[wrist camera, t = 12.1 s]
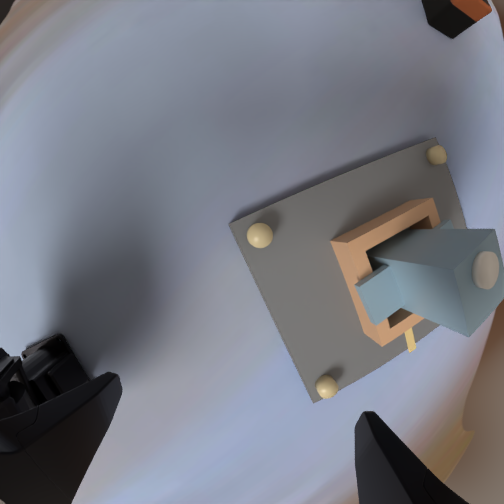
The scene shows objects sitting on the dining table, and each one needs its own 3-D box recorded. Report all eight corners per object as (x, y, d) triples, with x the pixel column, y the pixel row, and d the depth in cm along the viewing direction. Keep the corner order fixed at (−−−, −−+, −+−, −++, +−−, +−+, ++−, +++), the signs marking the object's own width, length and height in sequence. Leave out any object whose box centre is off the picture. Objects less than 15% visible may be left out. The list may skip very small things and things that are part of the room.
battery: (443, 10, 20) (481, -21, 10) (452, 41, 21) (498, 9, 11) (419, -4, 20) (455, -41, 10) (427, 24, 20) (471, -14, 10)
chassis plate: (312, 401, 22) (325, 427, 18) (228, 224, 20) (229, 223, 16) (472, 294, 23) (498, 302, 19) (429, 139, 21) (456, 129, 17)
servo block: (355, 316, 20) (442, 373, 10) (334, 272, 20) (424, 304, 10) (435, 257, 21) (531, 270, 10) (419, 215, 20) (519, 208, 10)
